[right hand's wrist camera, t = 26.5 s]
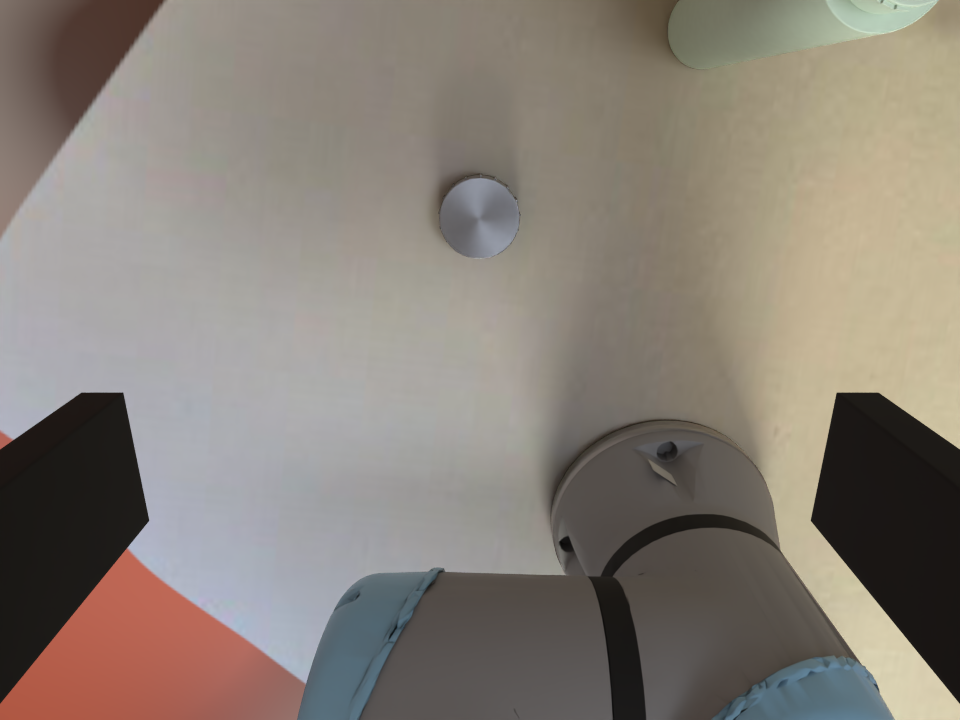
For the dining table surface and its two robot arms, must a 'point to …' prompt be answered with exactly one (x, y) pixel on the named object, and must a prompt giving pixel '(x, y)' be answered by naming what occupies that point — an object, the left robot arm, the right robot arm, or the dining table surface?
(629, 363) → the dining table surface
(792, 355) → the dining table surface
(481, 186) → the lid
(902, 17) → the pale green bottle
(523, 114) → the dining table surface
